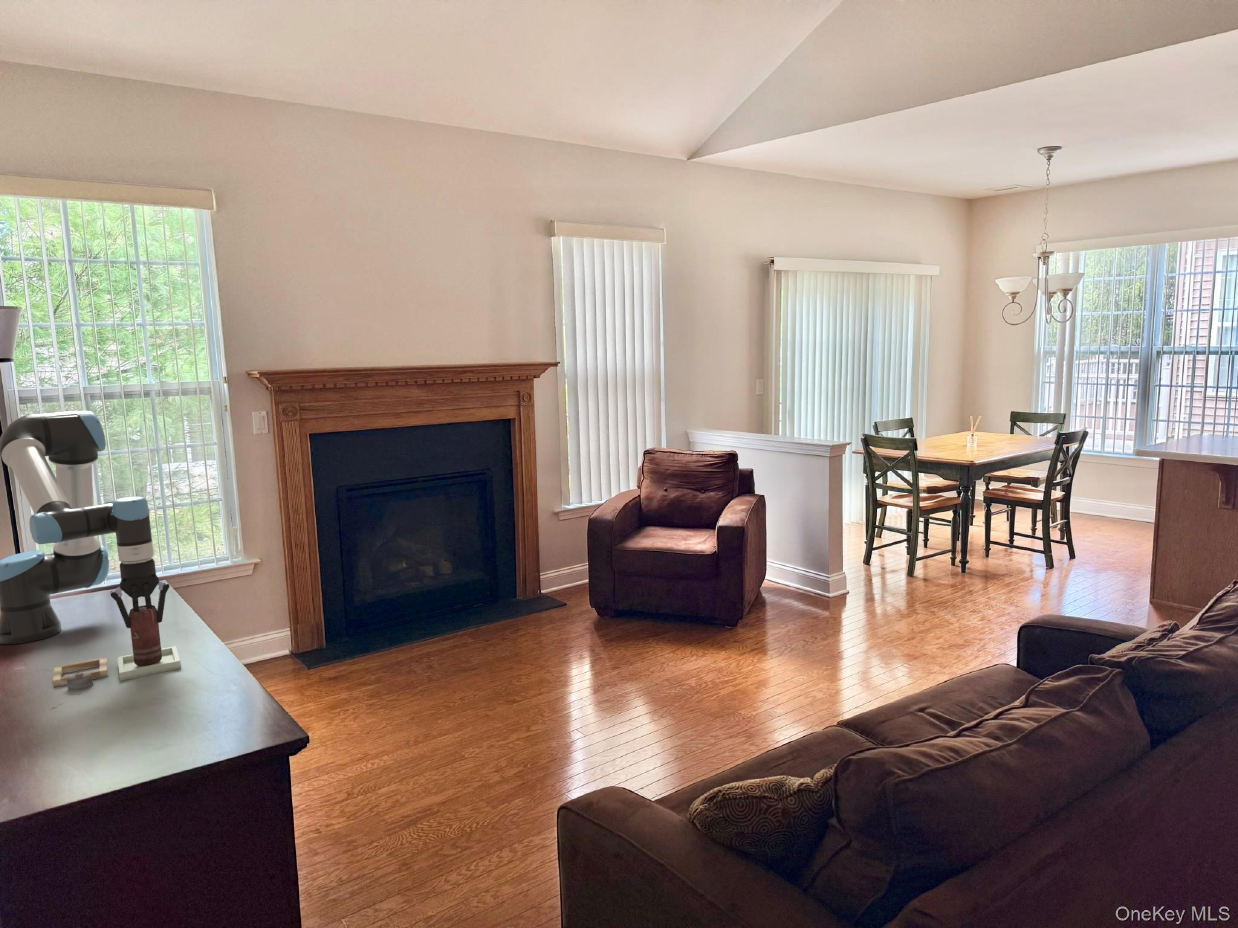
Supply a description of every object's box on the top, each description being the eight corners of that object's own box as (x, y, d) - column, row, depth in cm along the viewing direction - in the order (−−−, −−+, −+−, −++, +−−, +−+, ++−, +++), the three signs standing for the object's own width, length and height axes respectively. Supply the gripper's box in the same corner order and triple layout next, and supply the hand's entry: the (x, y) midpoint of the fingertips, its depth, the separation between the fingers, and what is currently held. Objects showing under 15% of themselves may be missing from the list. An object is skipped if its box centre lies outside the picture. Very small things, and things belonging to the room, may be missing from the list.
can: (150, 667, 206) (144, 611, 204) (128, 665, 207) (122, 611, 206) (168, 658, 212) (163, 604, 210) (146, 656, 213) (141, 603, 211)
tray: (118, 664, 212) (117, 657, 212) (176, 653, 219) (175, 645, 218) (120, 680, 201) (119, 672, 201) (180, 668, 208) (179, 660, 207)
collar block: (55, 672, 208) (53, 660, 208) (107, 662, 214) (105, 650, 213) (52, 696, 193) (50, 682, 193) (108, 684, 199) (106, 671, 198)
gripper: (105, 567, 200) (116, 662, 203) (168, 558, 206) (179, 650, 210) (104, 561, 206) (116, 653, 209) (166, 552, 213) (176, 642, 216)
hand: (147, 651), depth 209 cm, fingers closed
